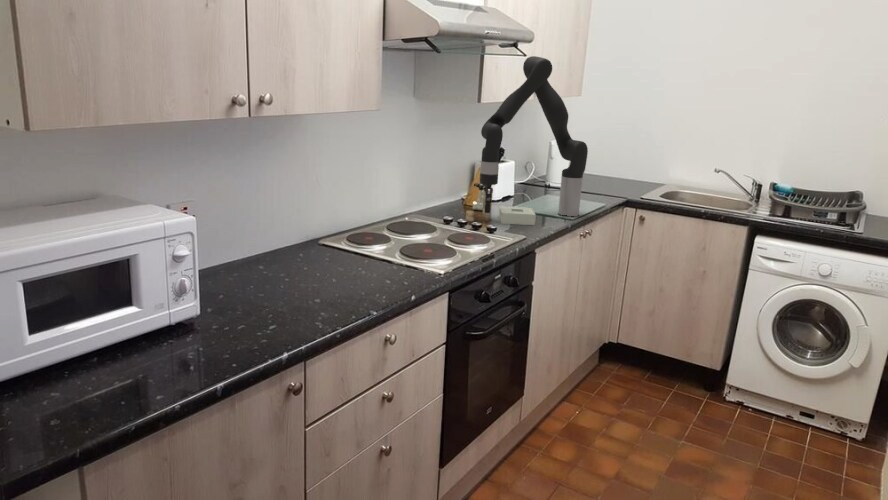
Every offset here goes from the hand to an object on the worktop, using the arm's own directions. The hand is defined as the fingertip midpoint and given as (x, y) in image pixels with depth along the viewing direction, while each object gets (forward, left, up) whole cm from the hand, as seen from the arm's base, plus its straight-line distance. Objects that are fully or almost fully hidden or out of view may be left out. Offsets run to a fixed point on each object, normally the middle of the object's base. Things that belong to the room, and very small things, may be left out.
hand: (486, 210), depth 273 cm
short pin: (+2, -7, -4) cm, 8 cm away
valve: (-20, -2, -4) cm, 21 cm away
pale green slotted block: (-2, +13, -4) cm, 14 cm away
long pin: (0, 0, -4) cm, 4 cm away
